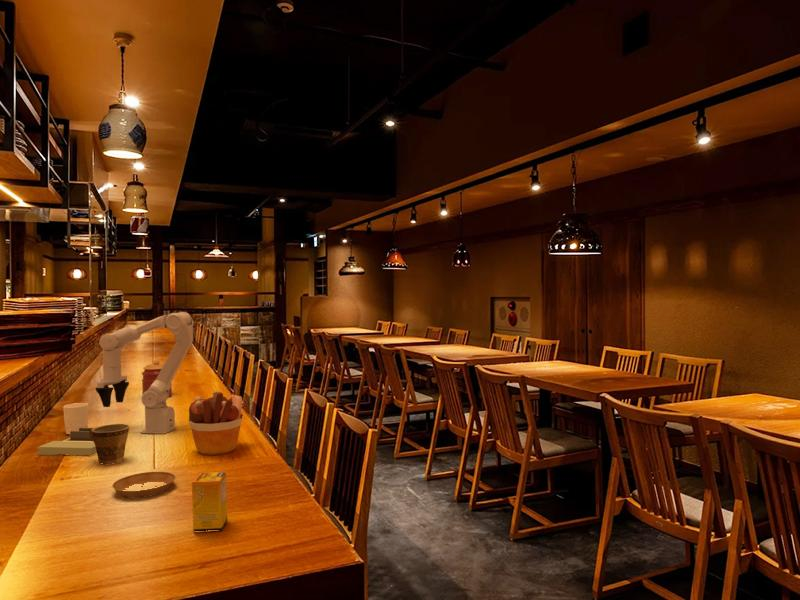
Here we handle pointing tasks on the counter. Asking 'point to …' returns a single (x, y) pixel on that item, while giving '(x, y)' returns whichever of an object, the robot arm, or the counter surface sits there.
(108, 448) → the ceramic cup
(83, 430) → the chute
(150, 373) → the canister
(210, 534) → the counter surface
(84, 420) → the white cup
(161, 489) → the plant saucer
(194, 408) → the bucket of meat
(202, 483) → the supplement box
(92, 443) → the tan bracket
